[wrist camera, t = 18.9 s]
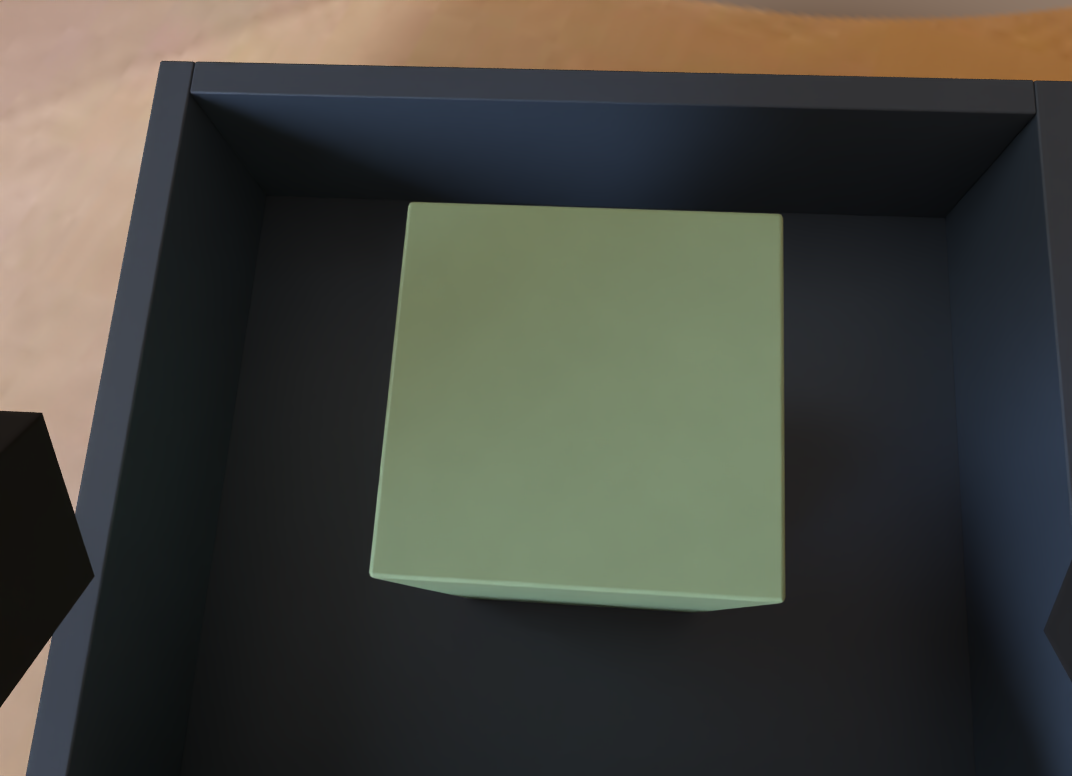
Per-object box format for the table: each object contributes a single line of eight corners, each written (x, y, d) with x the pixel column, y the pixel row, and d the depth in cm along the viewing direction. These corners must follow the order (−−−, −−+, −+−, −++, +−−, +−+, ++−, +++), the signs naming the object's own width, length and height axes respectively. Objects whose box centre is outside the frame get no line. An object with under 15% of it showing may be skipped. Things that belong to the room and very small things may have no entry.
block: (465, 598, 22) (367, 577, 12) (483, 377, 23) (407, 199, 13) (696, 612, 21) (786, 603, 12) (701, 387, 23) (783, 211, 13)
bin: (151, 817, 21) (4, 882, 16) (250, 179, 26) (160, 59, 20) (1007, 888, 20) (1161, 984, 15) (965, 201, 24) (1074, 79, 19)
